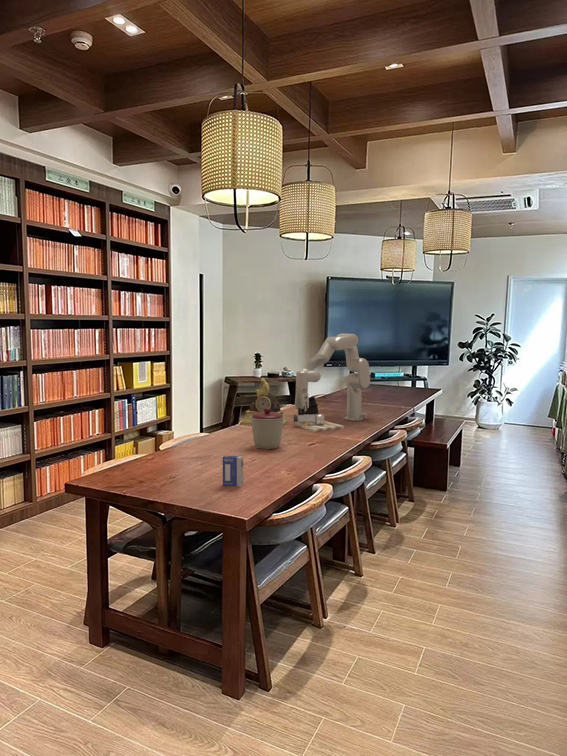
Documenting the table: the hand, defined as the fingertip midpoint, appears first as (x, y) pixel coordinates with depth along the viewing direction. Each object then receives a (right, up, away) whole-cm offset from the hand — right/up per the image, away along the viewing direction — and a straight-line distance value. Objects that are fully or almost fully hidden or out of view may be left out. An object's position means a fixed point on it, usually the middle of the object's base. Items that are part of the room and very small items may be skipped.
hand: (301, 419), depth 329 cm
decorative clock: (-24, -4, +6) cm, 25 cm away
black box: (+7, -2, +33) cm, 34 cm away
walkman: (-31, -17, -120) cm, 125 cm away
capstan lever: (+5, -3, -2) cm, 6 cm away
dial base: (+11, -5, -1) cm, 13 cm away
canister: (-20, -11, -55) cm, 60 cm away
